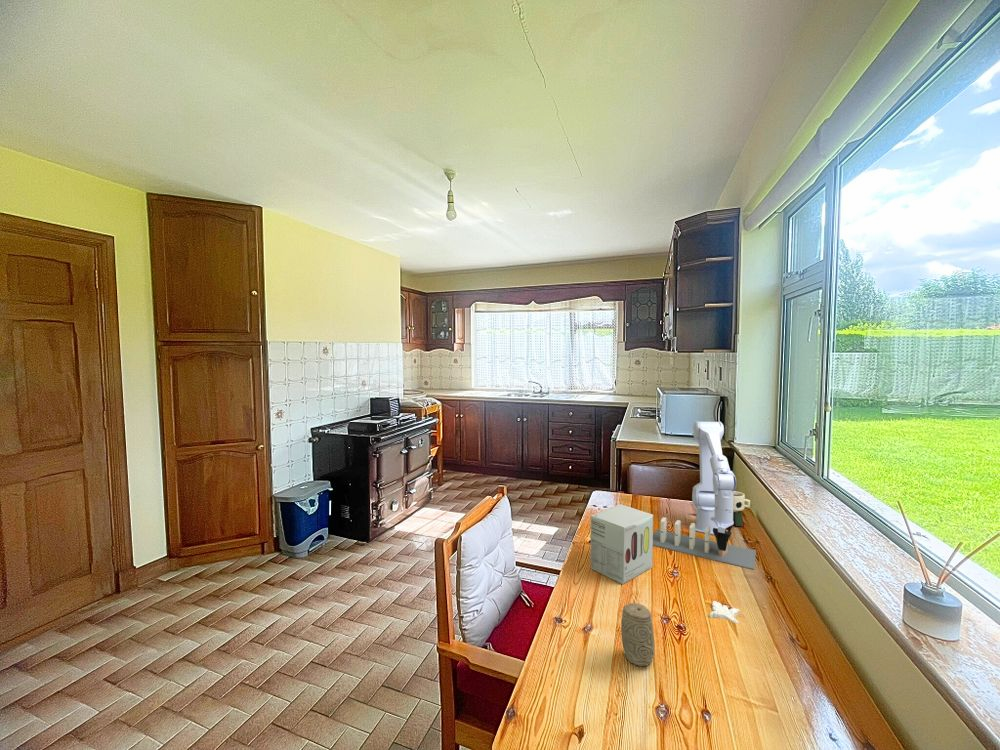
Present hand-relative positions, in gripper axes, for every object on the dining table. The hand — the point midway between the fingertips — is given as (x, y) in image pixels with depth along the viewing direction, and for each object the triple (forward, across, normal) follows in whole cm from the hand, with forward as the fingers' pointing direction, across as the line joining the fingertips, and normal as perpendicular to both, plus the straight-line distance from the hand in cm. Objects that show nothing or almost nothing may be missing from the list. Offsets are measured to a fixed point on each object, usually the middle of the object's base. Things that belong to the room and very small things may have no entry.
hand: (723, 545), depth 145 cm
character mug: (+3, -32, +1) cm, 32 cm away
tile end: (+3, 0, 0) cm, 3 cm away
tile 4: (+3, 0, -5) cm, 6 cm away
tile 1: (+3, 0, -20) cm, 20 cm away
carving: (+3, +67, -11) cm, 68 cm away
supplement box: (+4, +28, -27) cm, 39 cm away
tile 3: (+3, 0, -10) cm, 10 cm away
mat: (+3, -2, -8) cm, 8 cm away
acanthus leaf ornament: (+4, +37, +4) cm, 38 cm away
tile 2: (+3, 0, -15) cm, 15 cm away
